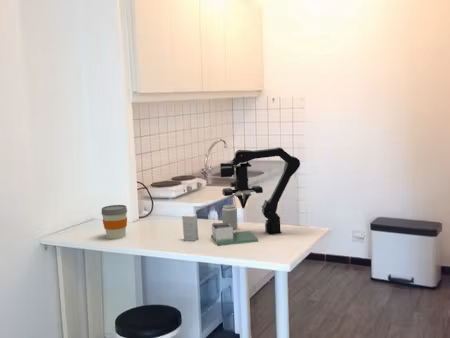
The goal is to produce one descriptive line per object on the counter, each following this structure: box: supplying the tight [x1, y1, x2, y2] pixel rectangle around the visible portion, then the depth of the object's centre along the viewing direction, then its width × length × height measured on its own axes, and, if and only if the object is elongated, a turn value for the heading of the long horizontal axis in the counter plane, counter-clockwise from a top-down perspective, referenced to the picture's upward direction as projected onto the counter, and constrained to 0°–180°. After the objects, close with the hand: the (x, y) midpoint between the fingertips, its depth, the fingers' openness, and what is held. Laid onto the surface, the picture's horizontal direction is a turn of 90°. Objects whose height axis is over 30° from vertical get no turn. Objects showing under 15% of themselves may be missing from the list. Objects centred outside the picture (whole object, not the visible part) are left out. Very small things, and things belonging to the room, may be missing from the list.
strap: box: [212, 222, 228, 226], centre depth 242 cm, size 7×4×1 cm, turn 102°
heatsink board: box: [211, 223, 259, 246], centre depth 244 cm, size 19×16×8 cm
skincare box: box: [181, 213, 199, 242], centre depth 247 cm, size 6×4×12 cm
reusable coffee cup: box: [101, 204, 128, 240], centre depth 259 cm, size 13×13×15 cm
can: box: [221, 204, 239, 231], centre depth 264 cm, size 8×8×12 cm
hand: (243, 208), depth 250 cm, fingers closed
